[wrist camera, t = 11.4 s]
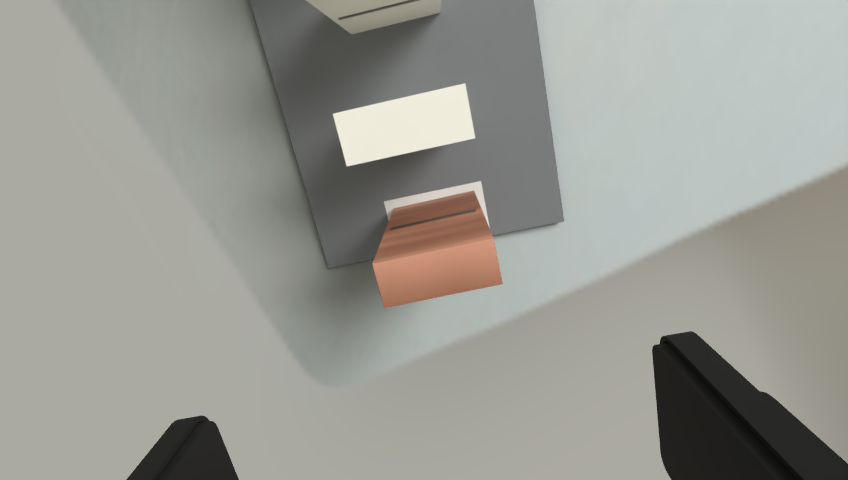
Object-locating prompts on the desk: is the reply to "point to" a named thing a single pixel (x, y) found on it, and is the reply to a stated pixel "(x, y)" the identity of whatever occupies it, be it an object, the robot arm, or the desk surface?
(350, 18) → the domino
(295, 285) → the desk surface
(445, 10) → the domino mat
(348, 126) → the domino
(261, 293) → the desk surface
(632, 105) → the desk surface
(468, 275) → the domino
